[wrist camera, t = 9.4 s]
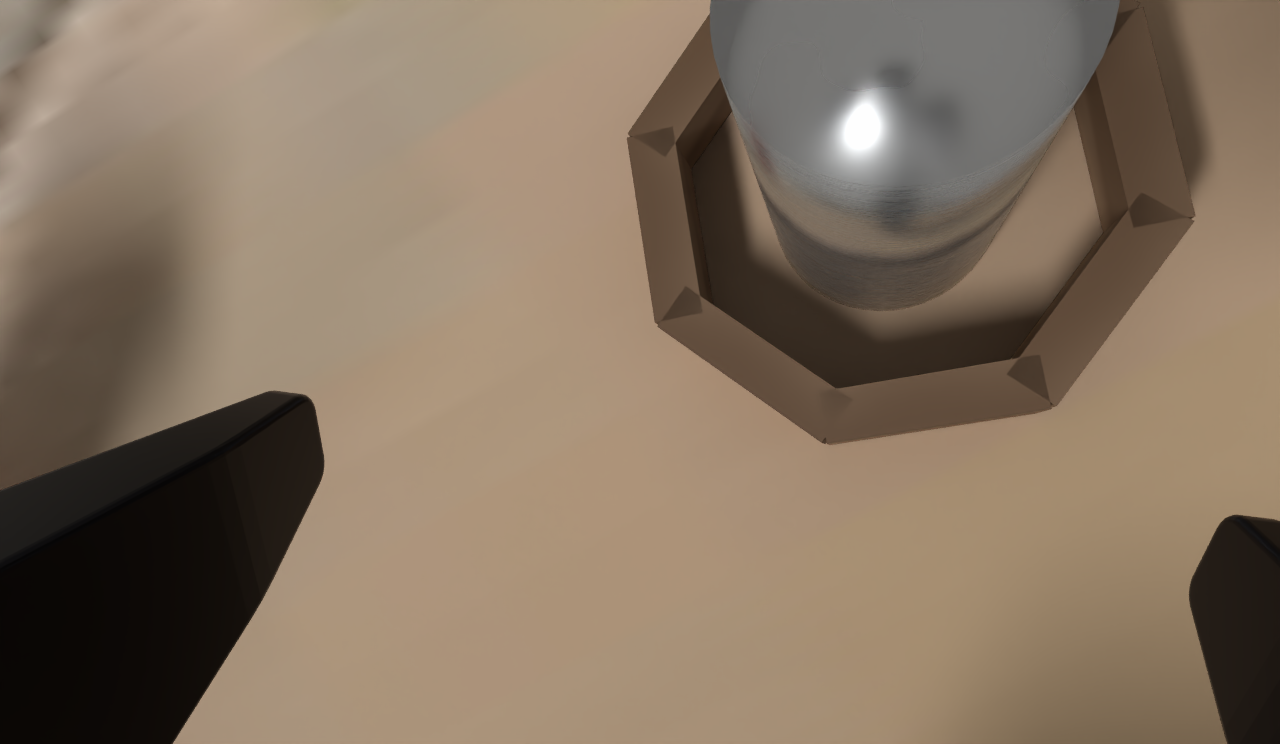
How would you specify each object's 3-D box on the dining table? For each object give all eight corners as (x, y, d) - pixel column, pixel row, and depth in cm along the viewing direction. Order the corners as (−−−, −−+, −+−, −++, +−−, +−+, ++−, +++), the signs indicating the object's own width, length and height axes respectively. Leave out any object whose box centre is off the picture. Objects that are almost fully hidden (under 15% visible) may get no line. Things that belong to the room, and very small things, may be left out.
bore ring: (1256, 117, 19) (1299, 79, 18) (948, 531, 20) (957, 539, 18) (825, -99, 23) (822, -151, 21) (574, 266, 23) (548, 249, 21)
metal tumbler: (1047, 222, 20) (1217, 9, 11) (856, 353, 21) (855, 264, 12) (908, 57, 22) (950, -266, 12) (733, 187, 22) (640, -18, 13)
